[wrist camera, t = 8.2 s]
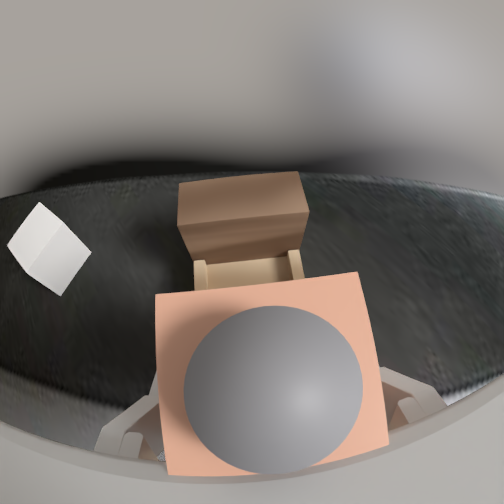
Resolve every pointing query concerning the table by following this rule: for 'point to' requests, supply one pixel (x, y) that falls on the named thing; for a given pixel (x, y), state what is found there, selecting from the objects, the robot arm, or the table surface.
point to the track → (243, 229)
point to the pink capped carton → (267, 377)
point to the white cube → (48, 249)
